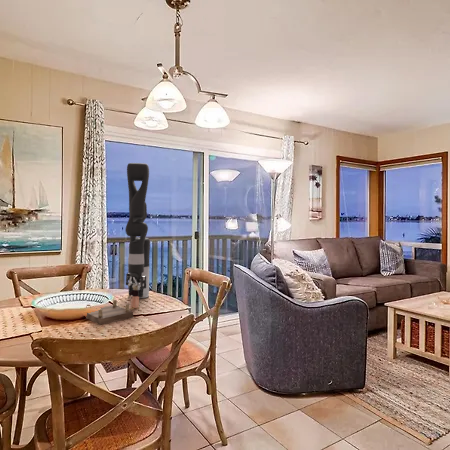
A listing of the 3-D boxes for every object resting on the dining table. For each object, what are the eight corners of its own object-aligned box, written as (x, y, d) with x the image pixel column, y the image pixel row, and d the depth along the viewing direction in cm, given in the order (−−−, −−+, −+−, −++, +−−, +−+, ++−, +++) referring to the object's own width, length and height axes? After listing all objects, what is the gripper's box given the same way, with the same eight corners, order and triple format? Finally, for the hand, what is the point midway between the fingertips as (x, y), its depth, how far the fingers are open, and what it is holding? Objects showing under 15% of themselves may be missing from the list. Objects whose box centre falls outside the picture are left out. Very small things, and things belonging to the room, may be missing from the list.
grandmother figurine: (130, 310, 172) (130, 284, 171) (126, 308, 175) (127, 283, 174) (144, 308, 177) (145, 282, 176) (140, 306, 180) (141, 281, 179)
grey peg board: (82, 316, 160) (82, 304, 160) (114, 310, 172) (115, 298, 172) (99, 324, 149) (100, 311, 149) (133, 317, 161) (133, 305, 161)
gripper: (151, 263, 173) (150, 297, 173) (134, 261, 183) (134, 292, 183) (137, 264, 167) (137, 299, 167) (121, 262, 177) (121, 294, 177)
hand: (135, 295), depth 175 cm, fingers open, 8 cm apart
